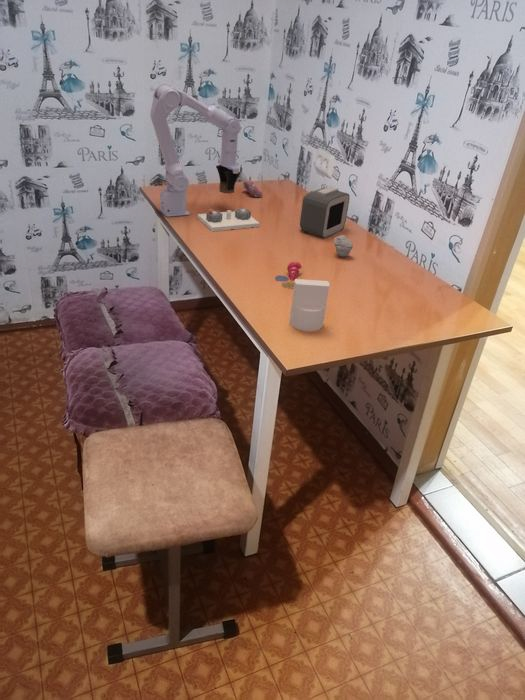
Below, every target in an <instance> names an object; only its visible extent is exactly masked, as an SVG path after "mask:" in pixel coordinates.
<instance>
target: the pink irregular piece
mask: <svg viewBox="0 0 525 700" xmlns="http://www.w3.org/2000/svg"><path fill="white" fill-rule="evenodd" d="M242 187H243V188H244V189H245V190H246V191H247V193H248V192H249V193H250V194H249V193H248V194H249V195H251V197H254V196H255V197H258V198H262V197H263V192H262V191H261V190H260V189H258V187H257V186H256V184H255V183H254V182H253V181H252V180H245V181H243V183H242Z"/></svg>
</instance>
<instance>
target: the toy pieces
mask: <svg viewBox="0 0 525 700" xmlns="http://www.w3.org/2000/svg"><path fill="white" fill-rule="evenodd" d="M301 269H302V264H301V263H300V262H299V261H291V262H290V263H288V265H287V268H286V270H287V273H288V276H289V278H288V277H287V275H286V276H285V275H276V276H275V277H274V279H275V282H283V283H281V287H282V288H284V289H288V290H294V284H295V282H293V281H295V279H296V277H297V275H298V274H299V272H300V270H301ZM289 279H290V281H289ZM287 281H288V282H287ZM285 282H286V283H285Z"/></svg>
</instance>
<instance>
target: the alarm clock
mask: <svg viewBox="0 0 525 700" xmlns="http://www.w3.org/2000/svg"><path fill="white" fill-rule="evenodd" d="M349 204H350V194H349V193H348V192H347V193H346V192H345V191H344V192H343V191H340V190H339V188H338V187H334V186H332V185H331V186H328V187H322V188H319V189H317V190H313V191H310V192H308V193H307V194H305V195H304V196H303V198H302V204H301V212H300V217H299V218H300V219H299V227H300V229H301V230H302V231H304V232H306V233H307V234H311V235H313V236H317V237H319V238H322V239H326V238H329V237H331V236H334V235H335V234H337V232H338V233H339V231H340V232H342V230H344V228H345V226H346V222H347V217H348V216H347V215H348V210H349V206H350V205H349Z"/></svg>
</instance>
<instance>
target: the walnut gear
mask: <svg viewBox="0 0 525 700" xmlns="http://www.w3.org/2000/svg"><path fill="white" fill-rule="evenodd" d="M218 189H219V193H222V194H230V195H231V194H234V193H235V188H234V189H233V190H228V189H227V182H225V181H223V182H220V181H219V188H218Z"/></svg>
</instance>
